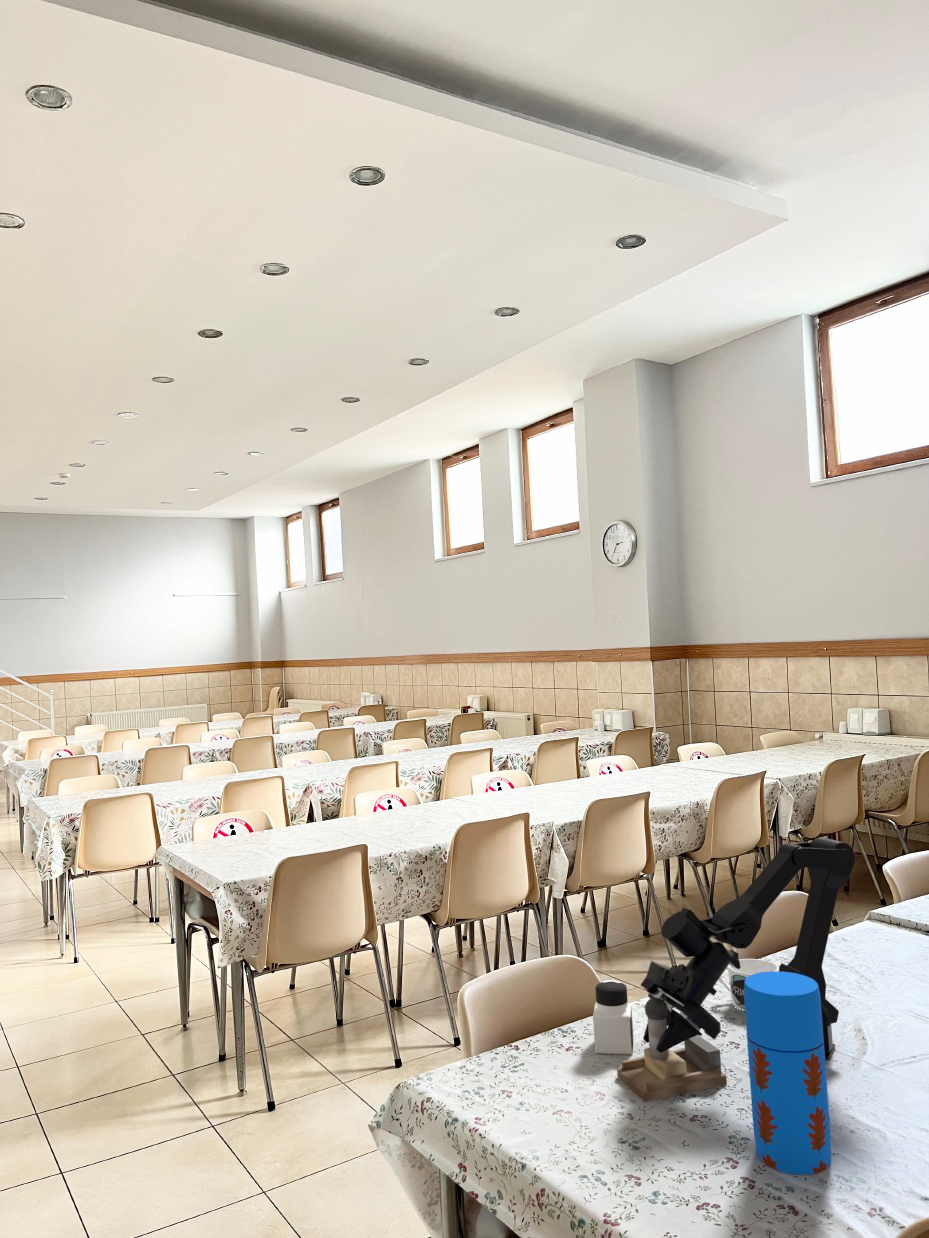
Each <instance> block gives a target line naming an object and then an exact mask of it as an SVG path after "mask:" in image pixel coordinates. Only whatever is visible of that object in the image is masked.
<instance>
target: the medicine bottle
mask: <svg viewBox="0 0 929 1238" xmlns="http://www.w3.org/2000/svg"><path fill="white" fill-rule="evenodd" d="M628 1001H629V1000H628V987H627V985H626V984H625V983H624V982H621V981H619V980H612V979H609V980H603V981H601V982H599V983H597V984H596V986H595V1003H594V1010H593V1014H592V1022H593V1023H592V1024H593V1039H594V1041H593V1042H594V1052H595V1054H603V1055H604V1054H605V1055H633V1053H634V1025H633V1008H632V1003H631V1002H630V1003H628Z"/></svg>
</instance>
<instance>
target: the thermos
mask: <svg viewBox="0 0 929 1238" xmlns="http://www.w3.org/2000/svg"><path fill="white" fill-rule="evenodd" d="M744 1002H745V1012H744V1016H745V1026H746V1041H747V1055H748V1056H747V1057H748V1058H747V1059H748V1070H749V1082H750V1083H749V1085H750V1099H751V1111H752V1112H751V1113H752V1124H753V1125H752V1126H753V1134H754V1143H755V1150H756V1154H757V1157H758V1158H759V1160H760V1161H761V1162H762V1163H763V1164H764V1165H766V1166H767V1167H770V1168H772V1169H774V1170H776V1171H778V1172H782V1173H785V1174H790V1175H798V1174H804V1176H808V1175H807V1174H809V1175H815V1173H816V1174H819V1173H821V1172H824V1171H826V1170H827V1169H828V1167H830V1166H831V1164H832V1150H831V1149H832V1147H831V1146H832V1144H831V1139H832V1138H831V1121H830V1107H829V1095H828V1093H829V1091H828V1083H827V1080H828V1079H827V1067H826V1059H825V1052H824V1039H823V1026H822V1012H821V999H820V992H819V987H818V984H817V983H816V981H815V980H813V979H811V978H809V977H807V976H804V975H800V974H796V973H790V972H775V971H770V972H760V973H756V974H753V975H750V976H749V977H747V978H746V979H745V984H744ZM813 1173H814V1174H813ZM805 1174H806V1175H805Z"/></svg>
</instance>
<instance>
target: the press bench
mask: <svg viewBox="0 0 929 1238" xmlns="http://www.w3.org/2000/svg"><path fill="white" fill-rule="evenodd" d="M683 1042H684V1048H680V1049H675V1050H671V1051H672V1052H674V1053H675V1054H676V1055H678V1056H679V1057H680V1058H682V1059H683V1060H684V1061H686V1072H687V1074H684V1075H680V1076H675V1077H670V1078H665V1079H660V1078H659V1077H658V1076H657V1075H655V1074H654V1073H653V1072H652V1071H651V1070H649V1069H648V1068H647V1067H646V1066H645V1057H644V1056H641V1057H640V1056H639V1057H635V1058H631V1059H626V1060H621V1067H619V1068H617V1069H616V1073H617V1074H616V1075H617V1079H618V1080H620V1082H622V1083H623V1084H624V1085H625V1086H626V1087H627V1088H628V1089H630V1091H632V1092H633V1093H634V1094H635V1095H636V1096H637V1097H639V1099H641V1100H642V1101H643V1102H644V1103H646V1102H651V1101H655V1100H659V1099H663V1098H664V1099H666V1098H669V1097H674V1096H678V1095H682V1094H687V1093H691V1092H692V1093H693V1092H697V1091H702V1090H705V1089H706V1090H707V1089H710V1088H711V1089H712V1088H715V1087H719V1086H720V1087H721V1086H726V1085H727V1084H728V1083H727V1082H728V1079H727V1075H726V1074H725V1073H724V1072H722V1062H721V1060H722V1059H721V1050H720V1049H719V1048H718V1047H717V1046H715V1045H714V1044H712V1043H710V1042H709V1041H708V1040H707V1039H705V1038H703V1036H702V1037H701V1036H699V1035H697V1036H694V1037H692V1038H690V1039H688V1040H685V1041H683Z"/></svg>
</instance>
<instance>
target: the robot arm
mask: <svg viewBox="0 0 929 1238" xmlns="http://www.w3.org/2000/svg"><path fill="white" fill-rule="evenodd" d="M856 854H857V853H855V851H854V849H853V847H852V846H851V845H850V844H848V843H846V842H843V841H840V840H835V839H832V838H827V837H817V838H815V839H814V840H813V841H805V842H803V841H800V842H796V843H791V842H788V843H784V844H781V846H779V848H778V852H777V853H776V854H775V856H774V857H773V858H772V859H771V860H770V862H769V863H768V864H767V865H766V866H765V867H764V869H763V870H762V871H761V872H760V873H759V875H758V876H757V877H756V878H755V879H754V880H753V882H752V883H751V884H750V885H749V886H748V888H747V889H746V890H745V891H744V892H743V893H742V894H741V895H740V896H738V898H735V899H733V900H731V901H729V902H727V903H725V904H724V905H723V906H722V907H720V908H719V909H718V910H717V911H715V912H714V914H713V915H712V916H711V917H707V918H705V919H700V918H698V916H697V915H696V913H695V912H693V911H692V910H691V909H690V908H687V907H685V906H684V907H682V909H681V910H680V911H678V912H675V913H673V914H672V915H670V916H669V917H667V918H666V919H665V921H664V922H663V924H662V927H661V931H660V932H661V936H662V937H663V938H664V939H665V940H666V941H667V942H668V943H669V944H671V945H672V947H674V948H675V949H676V950H677V951H678V952H679V953H680V954H682V956H684V957H685V958H690V960H689V961H688V962H687V964H686V965H684V964H683V963H681V964H678V965H677V967H676V966H674V965H671V966H667V965H665V964H662V963H659V962H656V961H654V960H651V961H650V963H649V966H648V970H647V973H646V975H645V978H644V979H643V981H642V982H641V983H640V986H641V987H642V989H644V990H645V991H646V992H647V993H648V994H647V996H648V998H649V999H651V998H660V999H662V1000H663V1001H664V1002H665V1003H666V1005H667V1007H668V1014H667V1017H666V1023H667V1029H666V1031H665V1033H664V1034H663V1036H662V1038H661V1039H660V1041H659V1043H658V1045H657V1048H656V1050H657V1051H659V1052H660V1053H662V1052H664V1051H666V1050H668V1049H670V1050H671V1048H673V1047H676V1046H678V1045H679V1044H681V1043H683V1042H684V1041H685V1040H688V1039H690V1038H692V1037H694V1036H697V1035H699V1036H700V1037H701V1036H702V1035H703V1033H702V1032H701V1029H702V1030H703V1031H704V1033H705V1034H706V1035H707V1036H708V1037H710V1038H711V1039H713V1040H714V1041H715V1040H716V1039H717V1037H718V1036H719V1034H721V1031H722V1029H721V1028H722V1027H721V1026H722V1025H721V1022H720V1021H719V1020H718V1019H716V1018H715V1017H714V1015H712V1014H711V1013H710V1012H709V1011H707V1009H706V1008H704V1007H703V1006H702V1005H703V1003H704V1002H705V1000H706V999H707V997H708V996H709V995H712V996H713V997H714V996H715V995H716V993H717V992H718V991H717V990H716V989H715V988H714V987H715V985H716V984H717V983H718V981H719V978H720V977H721V976H722V975H723V974H724V973H725V971H726V969H727V966H728V965H731V966H733V967H735V968H737V969H740V967H741V966H740V962H739V960H740V958H739V955H740V954H739V953H738V952H737V951H735V950H734V949H728V948H726V947H725V946H724V945H723V944H726V945H729V946H730V947H733V948H735V949H739V950H740V949H744V950H745V949H747V948H749V946H751V944H753V942H754V941H755V939H756V938H757V935H758V933H759V932H760V930H761V928H762V923H763V917H764V915H765V913H766V912H767V911H768V910H769V908H770V907H771V906H772V905H773V903H774V902H775V901H776V900H777V898H778V897H779V896H780V895H781V894H782V893H783V892H784V890H785V889H787V887H788V886H789V885H790V883H791V882H792V881H793V880H794V878H795V877H796V876H797V875H798V873H800V871H801V870H802V869H803V868H807V872H808V876H809V878H810V879H809V880H810V885H809V891H808V894H807V895H808V896H807V900H806V904H805V908H804V912H803V918H802V922H801V927H800V932H799V935H798V938H797V939H798V940H797V945H796V949H795V953H794V956H793V958H792V959H791V960H790V962H789V963H787V964H785V963H783V962H781V963H780V964H779V966H778V967H779V972H790V973H796V974H800V975H804V976H807V977H809V978H811V979H813V980H815V981H816V983H817V984H818V987H819V992H820V999H821V1012H822V1026H823V1039H824V1052H825V1060H829V1059H830V1058H831V1057H832V1055H833V1053H834V1050H835V1049H836V1044H835V1043H833V1042H834V1041H833V1031H832V1024H836V1023H837V1022H838V1018H839V1014H840V1012H839V1011H840V1010H839V1009H837V1007H835V1006H834V1005H833V1004H832V1003H831V1002H830V1001H829V1000H828V999H826V994H827V983H826V978H825V975H824V970H823V962H824V958H825V955H826V954H825V953H826V948H827V943H828V940H829V934H830V931H831V927H832V922H833V916H834V911H835V908H836V903H837V898H838V894H839V890H840V889H841V888H842V887H843V886H844V885H845V884H846V883H847V882H848V881H849V879H850V878H851V875H852V873H853V870H854V867H855V864H856V860H857V855H856ZM711 939H714V940H717V941H714V942H713V941H712V940H711ZM722 943H723V944H722ZM674 1008H675V1009H676V1010H677V1011H676V1010H675V1009H674ZM678 1011H679V1012H678ZM642 1039H643V1041H644V1042H646V1044H647V1043H649V1030H648V1022H647V1024H646V1027H645V1030H644V1035H643V1037H642Z"/></svg>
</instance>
